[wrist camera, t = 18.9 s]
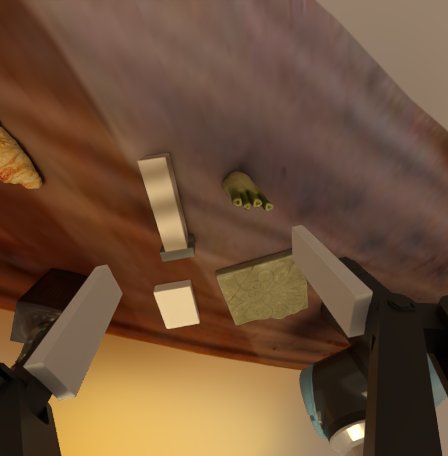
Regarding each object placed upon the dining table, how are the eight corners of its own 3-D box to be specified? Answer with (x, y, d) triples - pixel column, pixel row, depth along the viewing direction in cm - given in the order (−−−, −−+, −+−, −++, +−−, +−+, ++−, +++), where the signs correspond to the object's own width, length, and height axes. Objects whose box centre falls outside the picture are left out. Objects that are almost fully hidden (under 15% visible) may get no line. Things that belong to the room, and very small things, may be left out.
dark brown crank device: (96, 314, 49) (46, 407, 33) (42, 302, 45) (-42, 399, 29) (114, 265, 43) (66, 347, 27) (54, 246, 40) (-40, 329, 24)
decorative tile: (214, 269, 47) (215, 279, 44) (298, 244, 47) (306, 253, 44) (233, 321, 56) (235, 333, 53) (305, 300, 56) (311, 311, 52)
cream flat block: (190, 278, 48) (199, 314, 53) (155, 284, 47) (168, 319, 53) (190, 286, 45) (199, 323, 51) (153, 292, 45) (166, 329, 50)
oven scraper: (195, 242, 43) (194, 256, 39) (166, 247, 43) (162, 261, 38) (175, 151, 35) (171, 156, 30) (139, 157, 34) (130, 162, 30)
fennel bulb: (256, 182, 39) (279, 204, 28) (240, 202, 40) (256, 231, 30) (233, 163, 37) (247, 179, 26) (216, 185, 38) (224, 209, 27)
